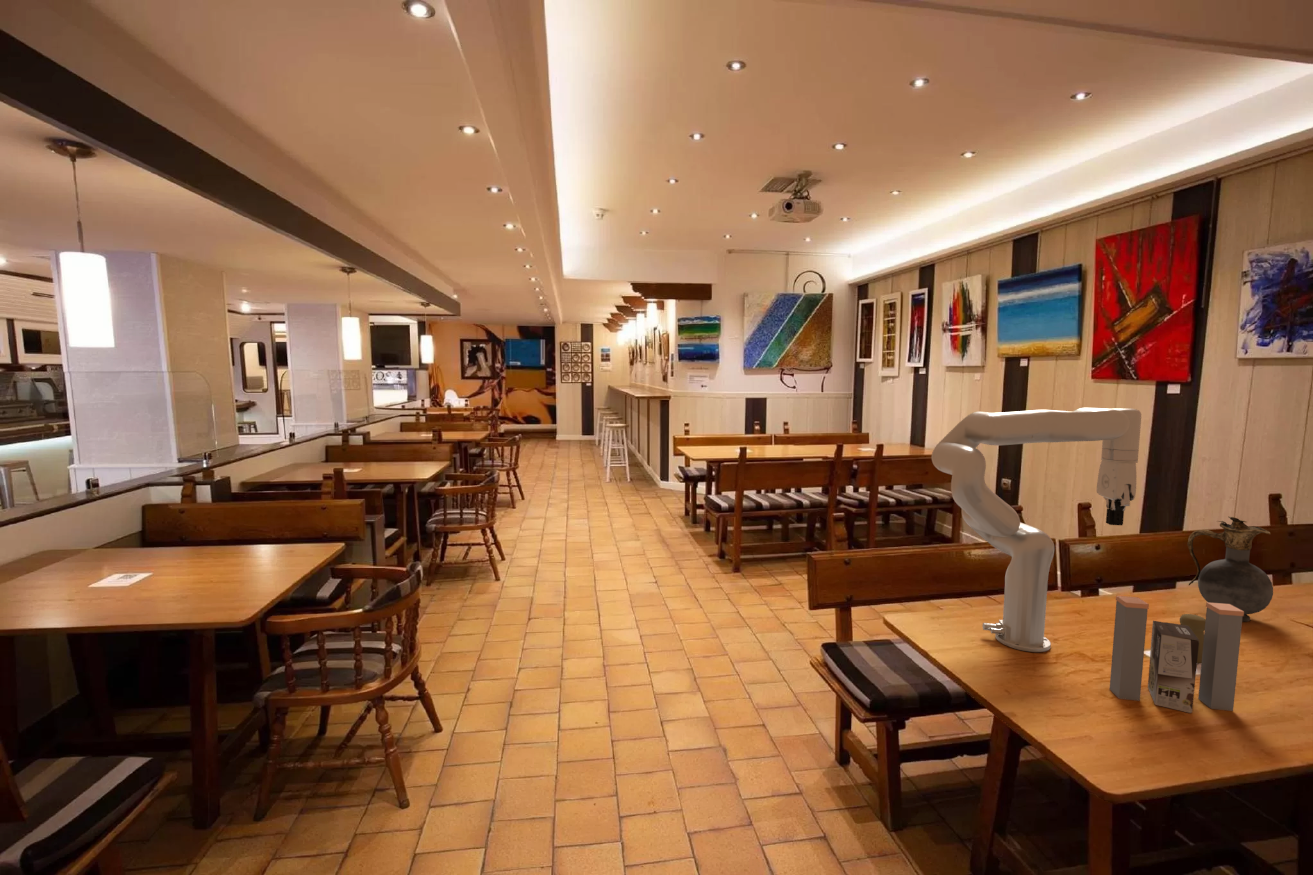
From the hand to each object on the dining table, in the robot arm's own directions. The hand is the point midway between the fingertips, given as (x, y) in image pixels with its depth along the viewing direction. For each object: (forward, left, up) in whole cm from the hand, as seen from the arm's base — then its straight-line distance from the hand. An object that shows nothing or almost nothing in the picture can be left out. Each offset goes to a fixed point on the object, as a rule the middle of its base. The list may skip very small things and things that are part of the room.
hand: (1114, 524), depth 154 cm
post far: (+8, -30, -32) cm, 45 cm away
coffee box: (-1, -30, -32) cm, 44 cm away
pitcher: (+43, +28, -32) cm, 61 cm away
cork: (+16, -6, -32) cm, 37 cm away
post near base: (-10, -30, -32) cm, 45 cm away
